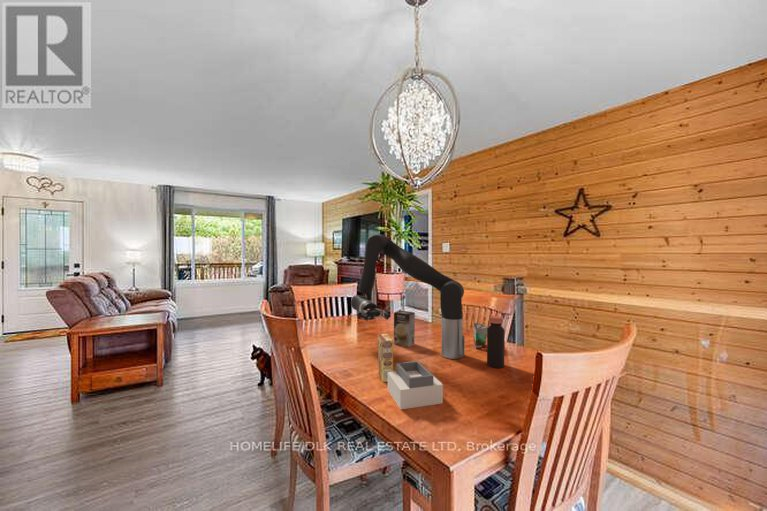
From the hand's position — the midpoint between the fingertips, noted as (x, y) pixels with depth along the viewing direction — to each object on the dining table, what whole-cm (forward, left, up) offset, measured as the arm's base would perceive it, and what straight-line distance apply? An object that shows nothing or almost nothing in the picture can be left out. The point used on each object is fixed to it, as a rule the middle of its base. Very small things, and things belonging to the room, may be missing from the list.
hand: (377, 317), depth 131 cm
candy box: (0, +11, -20) cm, 23 cm away
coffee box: (-20, -25, -20) cm, 38 cm away
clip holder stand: (-5, +28, -20) cm, 35 cm away
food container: (-55, -11, -20) cm, 60 cm away
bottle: (-47, +12, -20) cm, 53 cm away
